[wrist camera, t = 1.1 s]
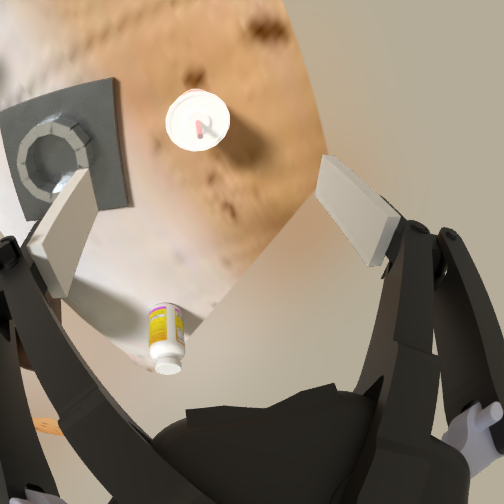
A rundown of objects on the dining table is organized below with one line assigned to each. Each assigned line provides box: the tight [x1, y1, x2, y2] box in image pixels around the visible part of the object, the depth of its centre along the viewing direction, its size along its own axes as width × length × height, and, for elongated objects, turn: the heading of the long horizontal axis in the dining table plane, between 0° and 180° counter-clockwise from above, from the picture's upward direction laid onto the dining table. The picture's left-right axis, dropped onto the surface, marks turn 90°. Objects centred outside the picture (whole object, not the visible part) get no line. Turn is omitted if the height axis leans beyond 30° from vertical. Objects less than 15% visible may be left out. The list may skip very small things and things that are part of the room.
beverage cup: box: [166, 89, 230, 151], centre depth 25 cm, size 6×6×14 cm
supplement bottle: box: [149, 303, 185, 375], centre depth 48 cm, size 7×7×13 cm
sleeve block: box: [0, 77, 128, 221], centre depth 28 cm, size 18×18×4 cm
